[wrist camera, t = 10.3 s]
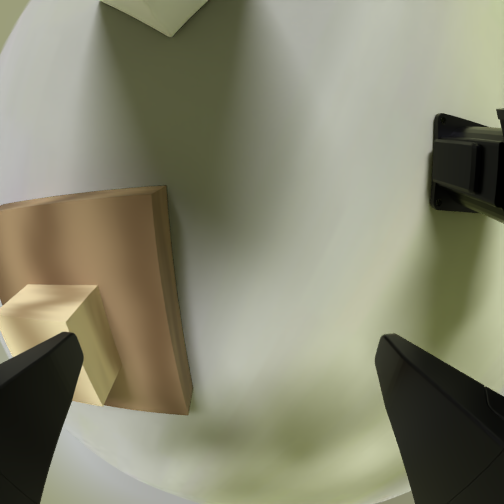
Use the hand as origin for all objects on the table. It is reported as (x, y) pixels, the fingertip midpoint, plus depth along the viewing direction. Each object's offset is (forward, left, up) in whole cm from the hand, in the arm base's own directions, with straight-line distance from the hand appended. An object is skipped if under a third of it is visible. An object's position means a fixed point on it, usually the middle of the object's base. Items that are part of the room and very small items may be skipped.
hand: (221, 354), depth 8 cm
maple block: (+11, +5, -8) cm, 14 cm away
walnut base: (+11, +5, -11) cm, 16 cm away
